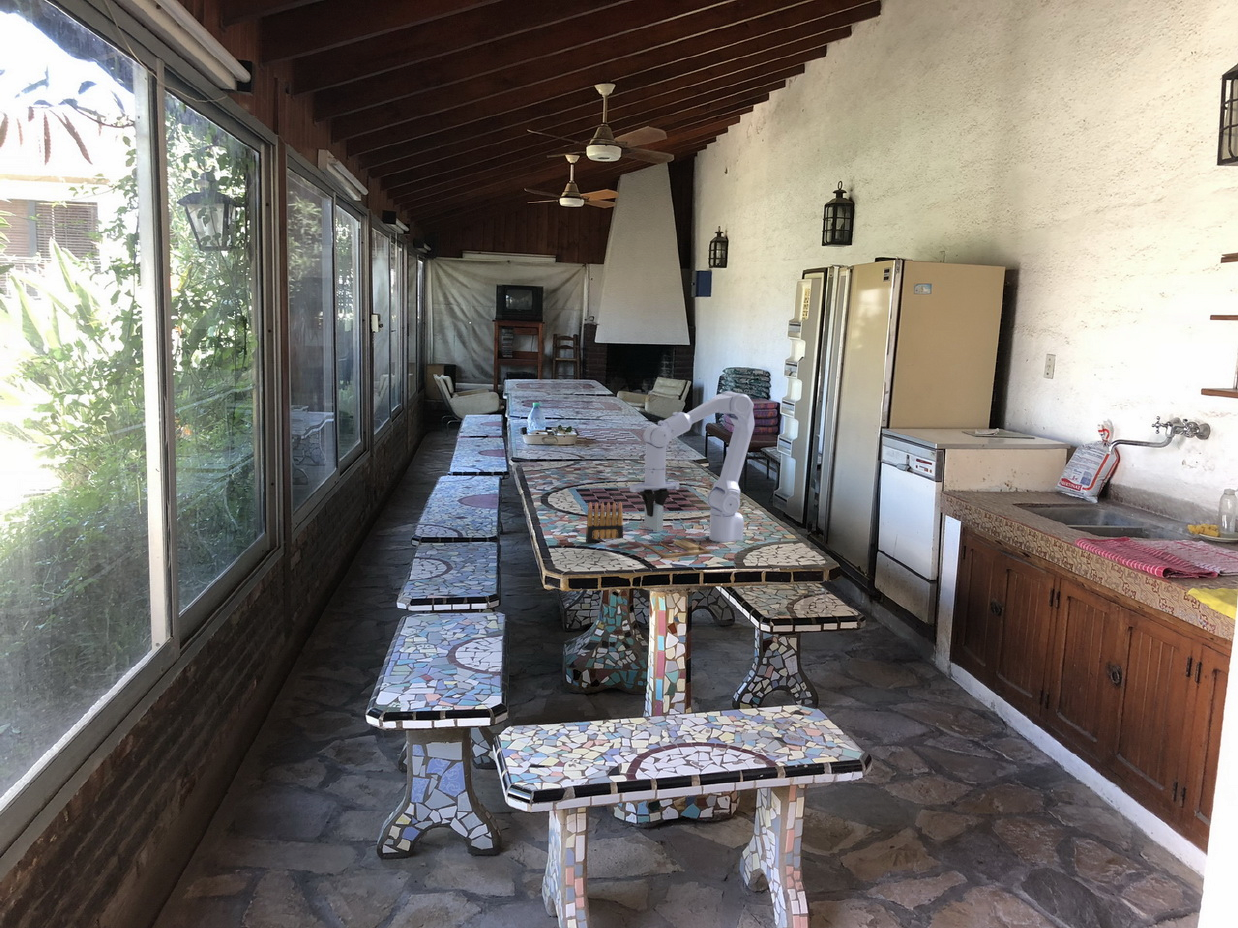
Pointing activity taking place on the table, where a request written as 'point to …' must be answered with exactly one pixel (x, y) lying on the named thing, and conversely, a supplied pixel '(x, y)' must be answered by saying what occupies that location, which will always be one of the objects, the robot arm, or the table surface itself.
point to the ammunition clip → (604, 523)
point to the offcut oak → (686, 545)
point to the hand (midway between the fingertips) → (653, 515)
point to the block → (655, 518)
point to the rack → (676, 554)
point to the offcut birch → (691, 550)
